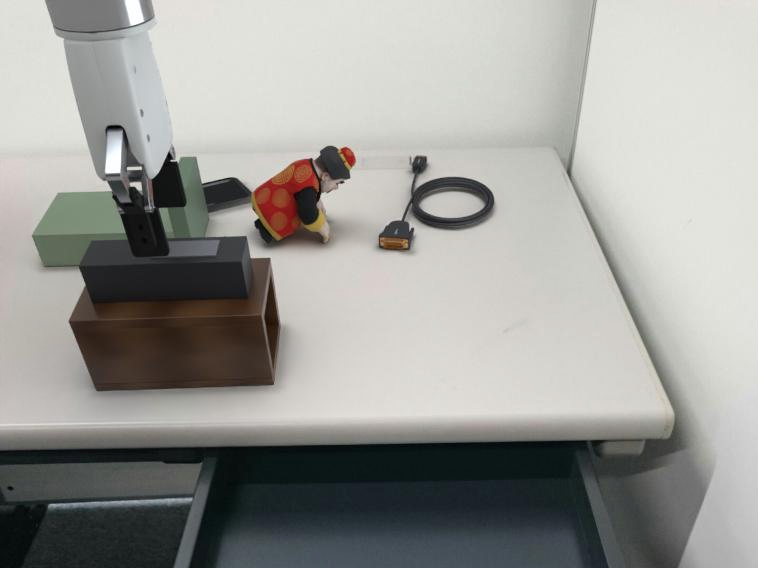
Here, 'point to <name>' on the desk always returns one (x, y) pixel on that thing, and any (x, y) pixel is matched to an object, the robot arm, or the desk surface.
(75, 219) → the green l-shaped block
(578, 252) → the desk surface
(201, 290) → the black rectangular box
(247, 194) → the phone
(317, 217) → the figurine
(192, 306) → the shelf
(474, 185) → the cable
